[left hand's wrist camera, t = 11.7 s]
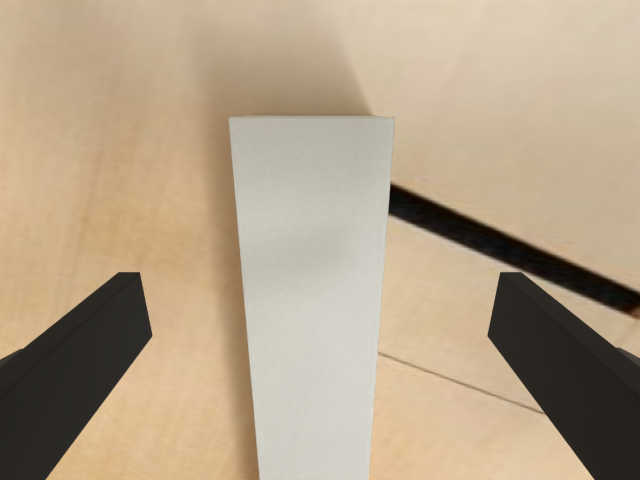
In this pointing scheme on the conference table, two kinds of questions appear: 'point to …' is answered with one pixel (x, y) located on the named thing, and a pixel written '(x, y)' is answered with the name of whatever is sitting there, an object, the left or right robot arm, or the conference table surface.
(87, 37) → the conference table surface
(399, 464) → the conference table surface
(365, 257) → the wide beam
